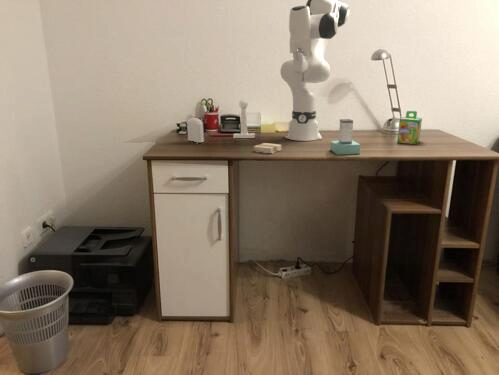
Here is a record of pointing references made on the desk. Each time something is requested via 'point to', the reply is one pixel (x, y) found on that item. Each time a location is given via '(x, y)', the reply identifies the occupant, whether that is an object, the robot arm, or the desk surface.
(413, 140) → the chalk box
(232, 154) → the desk surface
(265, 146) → the stand
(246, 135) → the joystick
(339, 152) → the stand
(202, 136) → the grey arched block
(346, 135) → the block
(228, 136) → the desk surface
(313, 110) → the robot arm
